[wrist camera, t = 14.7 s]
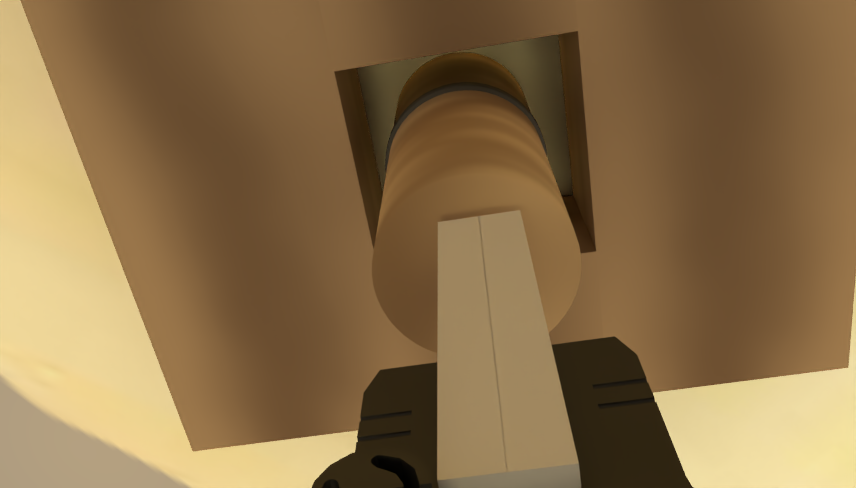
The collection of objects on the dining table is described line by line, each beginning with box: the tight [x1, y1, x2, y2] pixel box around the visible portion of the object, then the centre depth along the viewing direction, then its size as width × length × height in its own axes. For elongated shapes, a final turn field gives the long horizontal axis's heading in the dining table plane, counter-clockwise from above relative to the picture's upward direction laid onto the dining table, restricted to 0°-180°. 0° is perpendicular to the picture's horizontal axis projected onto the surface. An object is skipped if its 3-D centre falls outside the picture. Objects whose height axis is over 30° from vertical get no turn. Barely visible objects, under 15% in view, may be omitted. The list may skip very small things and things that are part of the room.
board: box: [21, 0, 856, 451], centre depth 22 cm, size 20×16×4 cm
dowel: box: [372, 52, 581, 353], centre depth 19 cm, size 4×4×10 cm
